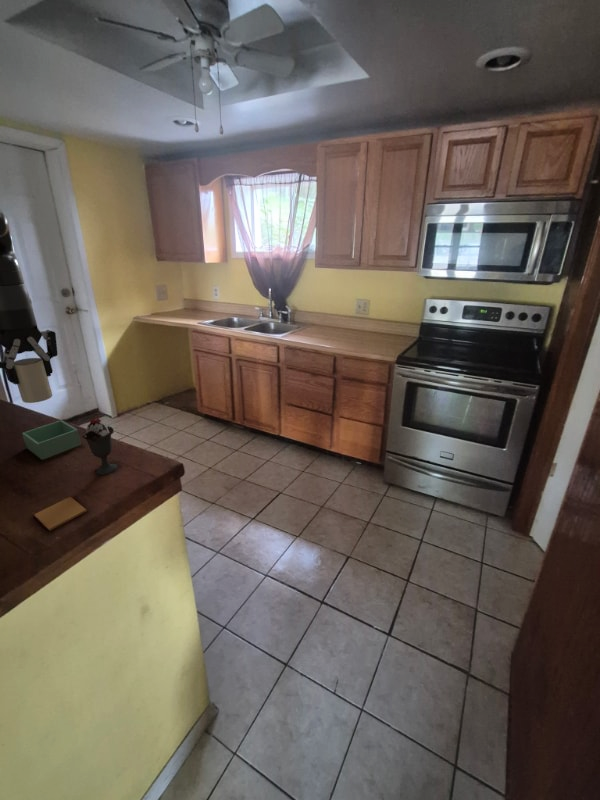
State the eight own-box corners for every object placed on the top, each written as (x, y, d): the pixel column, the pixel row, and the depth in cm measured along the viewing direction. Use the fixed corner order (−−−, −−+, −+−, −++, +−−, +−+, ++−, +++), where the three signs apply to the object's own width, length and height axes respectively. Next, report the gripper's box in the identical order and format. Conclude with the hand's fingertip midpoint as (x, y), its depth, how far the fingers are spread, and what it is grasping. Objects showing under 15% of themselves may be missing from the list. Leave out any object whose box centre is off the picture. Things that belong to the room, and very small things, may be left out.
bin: (42, 461, 93) (37, 444, 91) (27, 449, 98) (21, 432, 96) (82, 446, 100) (77, 429, 98) (65, 435, 105) (61, 419, 103)
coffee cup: (28, 405, 84) (17, 366, 80) (17, 398, 87) (6, 361, 84) (57, 396, 88) (47, 360, 85) (45, 391, 92) (35, 355, 88)
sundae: (111, 458, 95) (99, 405, 89) (126, 467, 91) (114, 412, 85) (85, 470, 90) (70, 414, 84) (100, 480, 86) (85, 422, 80)
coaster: (49, 531, 71) (49, 529, 71) (34, 516, 75) (33, 514, 75) (86, 511, 76) (86, 509, 76) (70, 498, 80) (70, 496, 80)
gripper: (40, 300, 87) (57, 368, 93) (-38, 308, 76) (-12, 384, 83) (54, 303, 83) (72, 374, 89) (-25, 312, 72) (1, 392, 79)
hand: (32, 379), depth 86 cm, fingers closed on coffee cup, 6 cm apart
